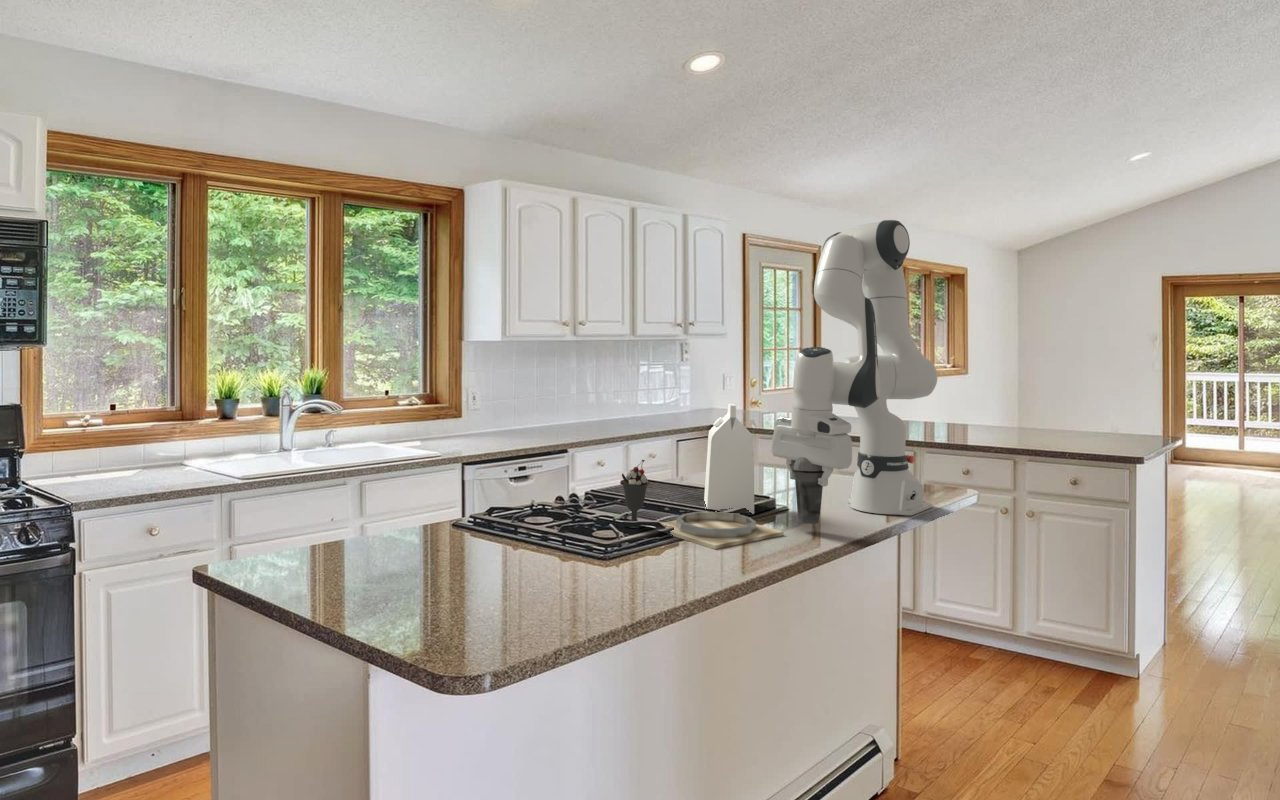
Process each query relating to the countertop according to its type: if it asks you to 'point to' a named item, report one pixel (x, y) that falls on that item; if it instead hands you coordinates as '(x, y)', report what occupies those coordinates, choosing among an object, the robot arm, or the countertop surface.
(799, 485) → the beverage cup
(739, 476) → the milk
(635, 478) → the sundae
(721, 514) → the ring seat
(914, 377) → the robot arm
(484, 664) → the countertop surface
